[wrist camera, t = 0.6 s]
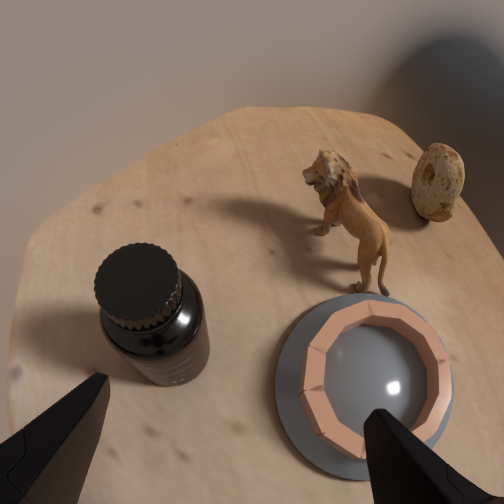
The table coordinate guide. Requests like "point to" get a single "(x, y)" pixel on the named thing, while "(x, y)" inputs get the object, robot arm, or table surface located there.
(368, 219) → the lion figurine
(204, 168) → the table surface
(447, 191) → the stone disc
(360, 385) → the ring tray
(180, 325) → the supplement bottle
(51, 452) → the robot arm
